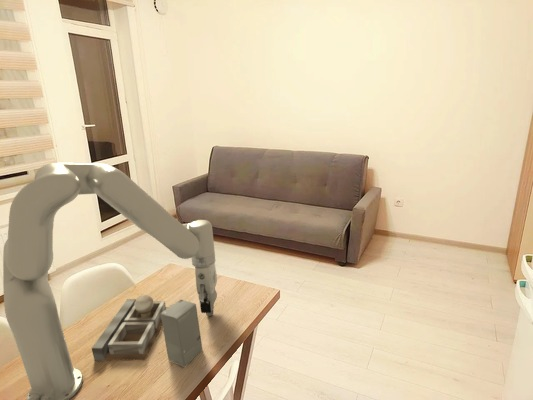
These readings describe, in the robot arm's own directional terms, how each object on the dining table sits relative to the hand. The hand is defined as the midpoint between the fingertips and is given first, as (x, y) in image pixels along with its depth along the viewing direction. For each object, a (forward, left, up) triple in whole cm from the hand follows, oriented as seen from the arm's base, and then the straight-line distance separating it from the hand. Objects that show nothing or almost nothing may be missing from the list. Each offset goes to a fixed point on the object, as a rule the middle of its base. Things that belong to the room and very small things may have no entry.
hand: (208, 304), depth 115 cm
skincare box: (-18, +4, -5) cm, 19 cm away
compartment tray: (-8, +23, -5) cm, 24 cm away
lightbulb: (0, 0, -5) cm, 5 cm away
